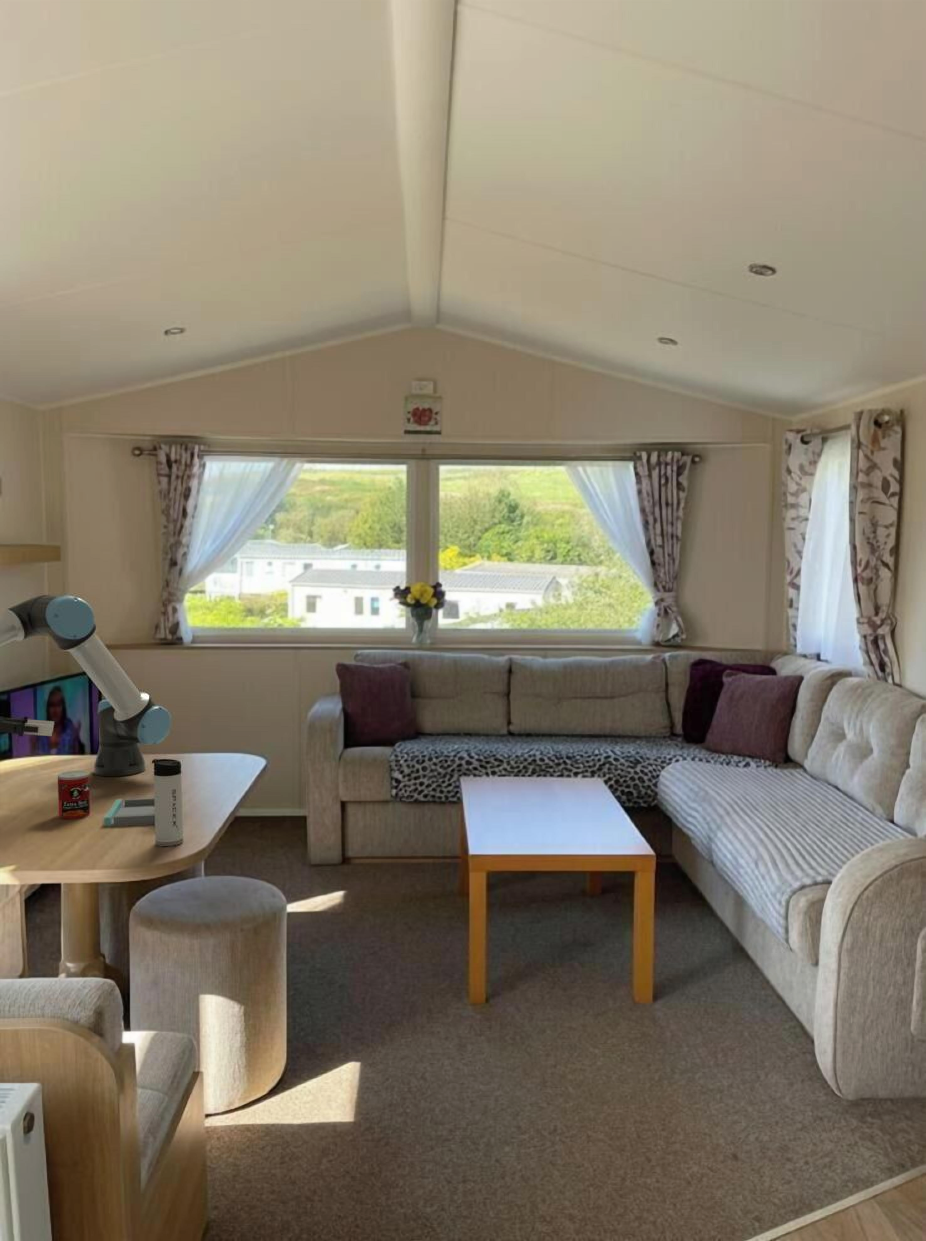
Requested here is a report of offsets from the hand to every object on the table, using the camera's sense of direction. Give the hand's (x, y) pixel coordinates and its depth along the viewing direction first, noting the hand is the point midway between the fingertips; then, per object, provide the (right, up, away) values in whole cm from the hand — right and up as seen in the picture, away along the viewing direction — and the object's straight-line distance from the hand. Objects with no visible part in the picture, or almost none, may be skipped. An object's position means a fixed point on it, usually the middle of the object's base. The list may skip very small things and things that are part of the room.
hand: (53, 728), depth 250 cm
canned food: (+6, -23, 0) cm, 23 cm away
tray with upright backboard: (+23, -23, 0) cm, 32 cm away
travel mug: (+37, -25, -23) cm, 50 cm away
